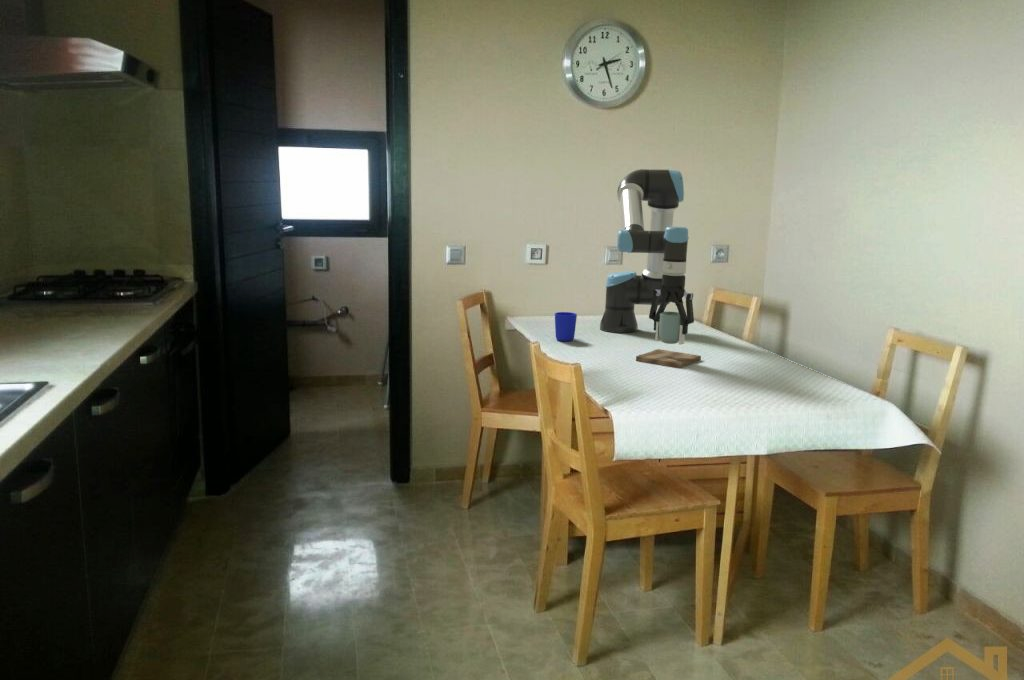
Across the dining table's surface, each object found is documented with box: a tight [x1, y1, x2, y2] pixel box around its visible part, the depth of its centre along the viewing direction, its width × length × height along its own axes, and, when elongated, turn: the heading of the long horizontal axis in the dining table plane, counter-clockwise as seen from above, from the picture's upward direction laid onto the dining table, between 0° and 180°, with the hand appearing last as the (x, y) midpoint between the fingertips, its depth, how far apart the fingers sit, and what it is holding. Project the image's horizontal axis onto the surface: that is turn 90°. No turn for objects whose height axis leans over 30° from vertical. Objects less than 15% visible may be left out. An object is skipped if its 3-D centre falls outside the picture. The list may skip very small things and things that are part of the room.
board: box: [635, 348, 702, 369], centre depth 268 cm, size 16×16×2 cm
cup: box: [659, 311, 682, 345], centre depth 266 cm, size 8×8×10 cm
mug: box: [554, 311, 578, 342], centre depth 300 cm, size 8×12×10 cm
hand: (669, 342), depth 267 cm, fingers closed on cup, 8 cm apart
